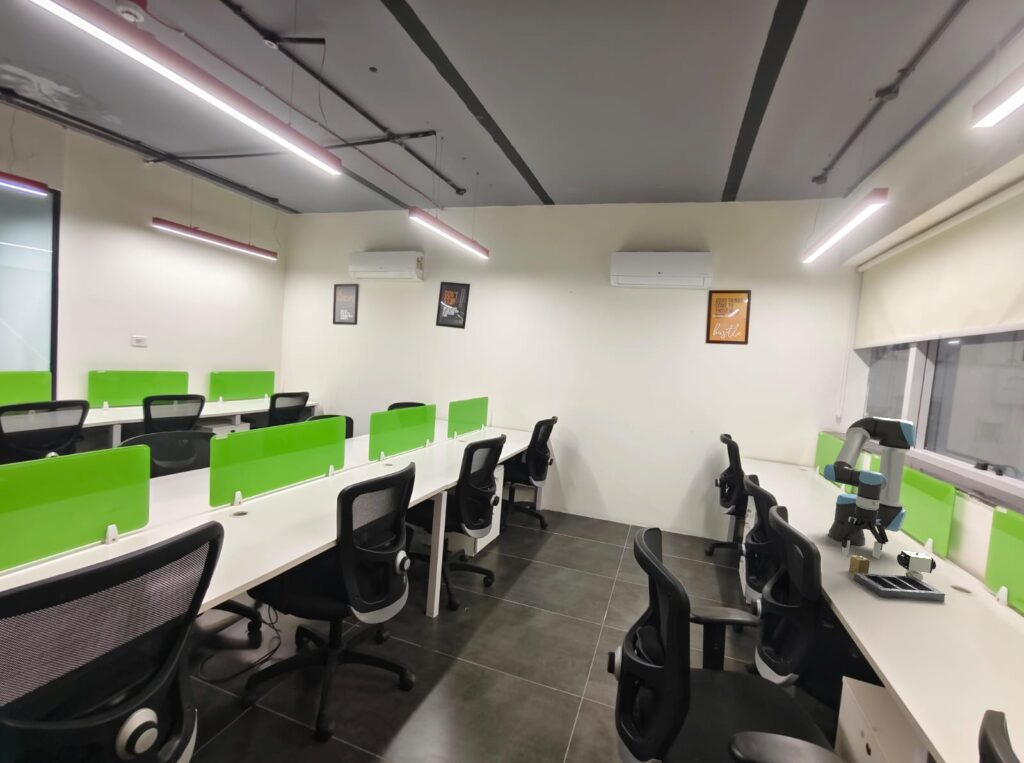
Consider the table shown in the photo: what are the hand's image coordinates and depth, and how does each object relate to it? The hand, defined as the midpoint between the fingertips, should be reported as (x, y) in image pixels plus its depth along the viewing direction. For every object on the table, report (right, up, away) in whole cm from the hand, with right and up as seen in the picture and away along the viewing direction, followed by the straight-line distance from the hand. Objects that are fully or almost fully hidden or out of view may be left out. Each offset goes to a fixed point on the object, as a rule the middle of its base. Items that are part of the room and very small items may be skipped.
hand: (860, 556), depth 185 cm
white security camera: (+22, -10, -1) cm, 24 cm away
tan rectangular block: (0, -8, +1) cm, 8 cm away
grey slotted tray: (+5, -9, -12) cm, 16 cm away
